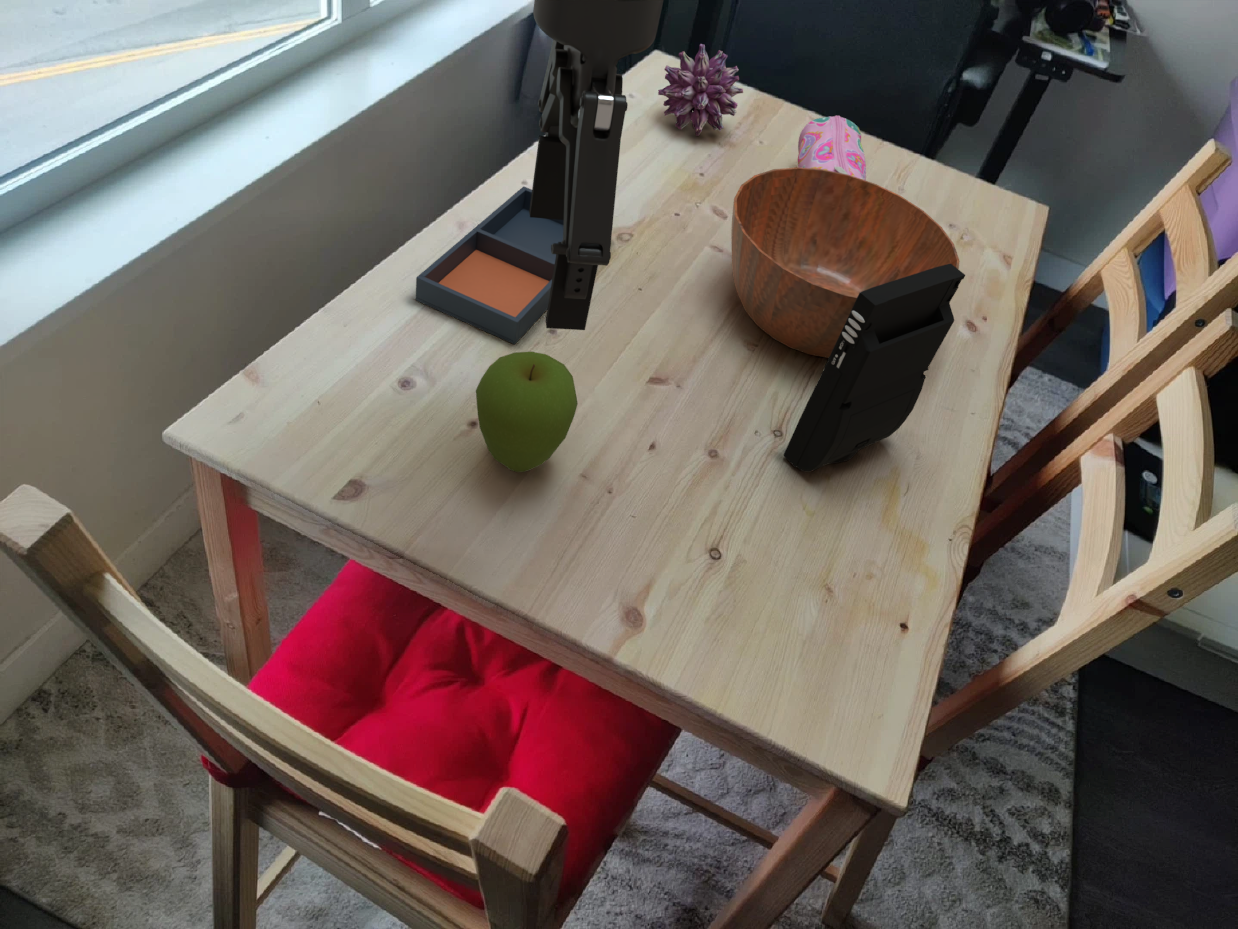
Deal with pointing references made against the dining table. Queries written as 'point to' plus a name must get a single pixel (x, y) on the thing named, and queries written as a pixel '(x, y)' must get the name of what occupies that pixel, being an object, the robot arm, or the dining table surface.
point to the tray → (496, 271)
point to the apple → (525, 408)
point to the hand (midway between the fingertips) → (555, 267)
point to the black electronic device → (875, 367)
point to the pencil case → (832, 147)
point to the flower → (701, 90)
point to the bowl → (823, 250)
